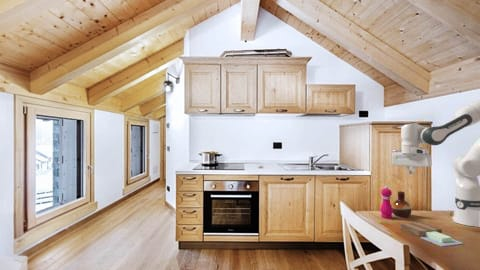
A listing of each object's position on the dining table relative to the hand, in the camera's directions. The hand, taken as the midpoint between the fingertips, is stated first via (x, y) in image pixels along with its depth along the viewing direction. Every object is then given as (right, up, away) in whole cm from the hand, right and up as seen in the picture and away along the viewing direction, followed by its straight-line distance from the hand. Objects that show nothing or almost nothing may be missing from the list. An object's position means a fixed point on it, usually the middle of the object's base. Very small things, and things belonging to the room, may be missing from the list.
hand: (411, 174), depth 158 cm
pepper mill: (-6, -30, +15) cm, 34 cm away
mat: (-1, -30, -24) cm, 38 cm away
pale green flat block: (-1, -29, -22) cm, 37 cm away
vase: (+5, -30, +18) cm, 36 cm away
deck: (-3, -30, -12) cm, 32 cm away
